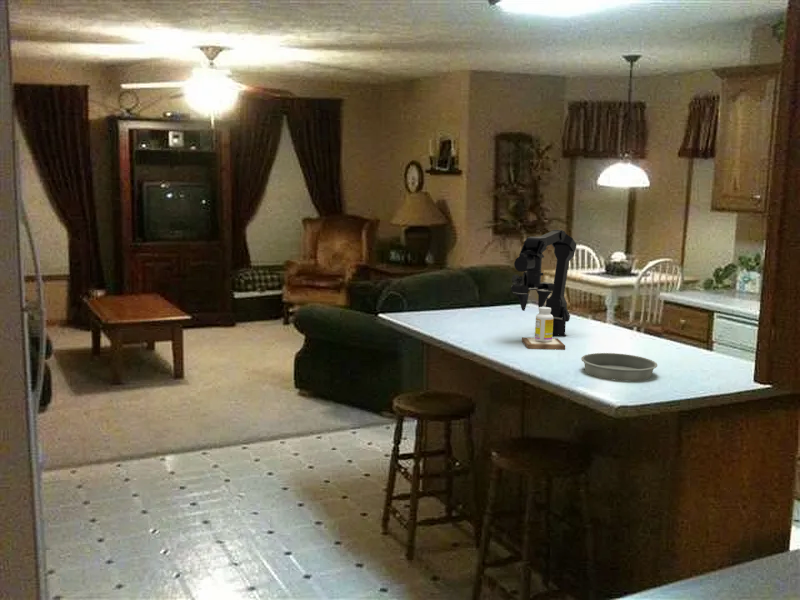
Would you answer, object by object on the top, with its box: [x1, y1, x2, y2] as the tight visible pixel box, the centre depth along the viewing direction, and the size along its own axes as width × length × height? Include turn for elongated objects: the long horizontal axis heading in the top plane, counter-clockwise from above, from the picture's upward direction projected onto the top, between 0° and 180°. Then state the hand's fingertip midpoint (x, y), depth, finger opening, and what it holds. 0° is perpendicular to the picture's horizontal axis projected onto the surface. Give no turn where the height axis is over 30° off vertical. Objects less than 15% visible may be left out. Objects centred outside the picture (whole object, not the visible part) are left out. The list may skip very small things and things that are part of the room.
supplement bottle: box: [534, 306, 554, 342], centre depth 317 cm, size 7×7×13 cm
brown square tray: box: [521, 337, 566, 351], centre depth 318 cm, size 14×14×2 cm
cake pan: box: [580, 352, 658, 382], centre depth 276 cm, size 25×25×4 cm
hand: (531, 309), depth 322 cm, fingers open, 9 cm apart
